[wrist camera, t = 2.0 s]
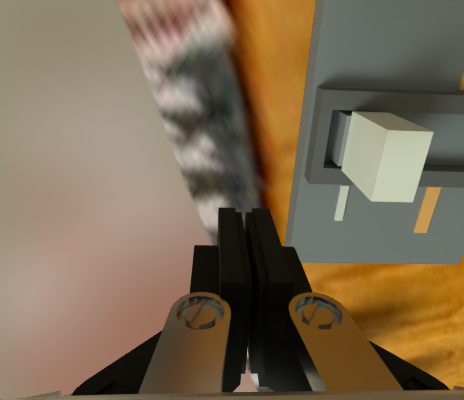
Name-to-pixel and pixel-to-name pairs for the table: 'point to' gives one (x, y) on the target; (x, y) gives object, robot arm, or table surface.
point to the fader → (381, 154)
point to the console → (389, 101)
